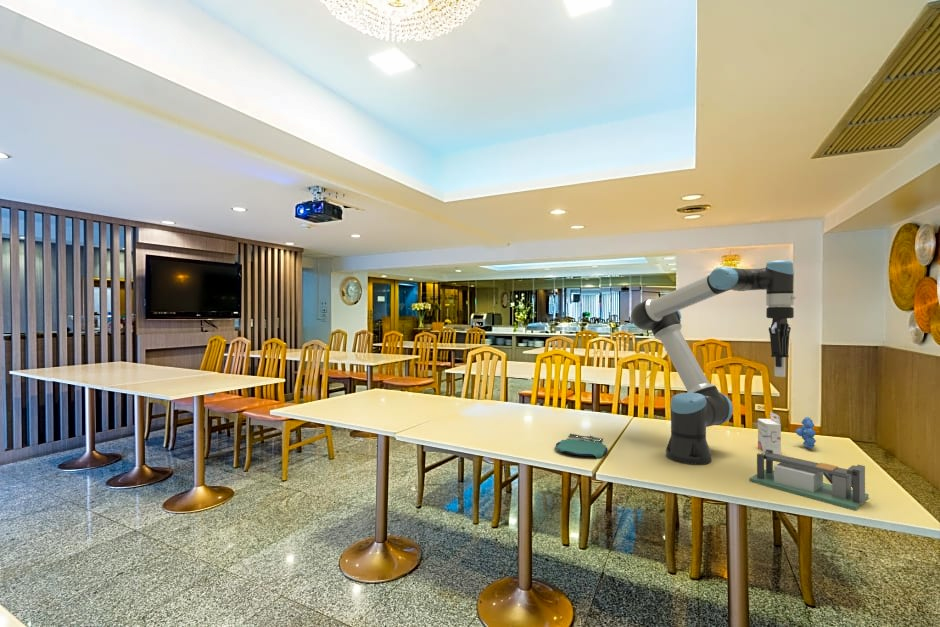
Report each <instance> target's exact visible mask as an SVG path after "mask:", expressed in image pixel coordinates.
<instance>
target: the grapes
mask: <svg viewBox="0 0 940 627" xmlns="http://www.w3.org/2000/svg"><path fill="white" fill-rule="evenodd" d="M801 424H802V426H801V427H798V428H796V430H795V434H796V435H797V436H799V437H801V438H802V440H803V442H802V444H803V446H804V447H806V448H807V449H808V450H812V449H813V448H815V446H816V445H815V443H816V442H817V440H816V439H815V437H816V434H817V432H816V431H815V429H814V427H815V426H816V425H815V423H814V420H812V419H811V417H809V416H808V417H807V416H806V417H804V418H803V419H802V421H801Z"/></svg>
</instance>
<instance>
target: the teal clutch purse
mask: <svg viewBox="0 0 940 627" xmlns="http://www.w3.org/2000/svg"><path fill="white" fill-rule="evenodd" d="M567 436H568V438H566V439H561V440H560V441H558V442H557V443H556V444H555V448H556V450H557V452H561V453H566V454H569V455H574V456H583V457H594V456H595V458H596V459H597V458H598V459H600V458H601V457H603V455H604V454H606V453H608V452H609V450H608V449H609V448H608V447H607V446H606V445H605V444H603V441H604V440H603V439H604V438H601V437H597V436H593V435H589V436H588V435H579V434H576V433H575V434H574V433H569V435H567ZM576 436H578V437H576ZM583 437H587V438H583ZM591 438H592V439H591ZM600 439H601V440H600ZM590 440H591V441H590ZM599 440H600V441H599ZM594 441H595V442H594Z"/></svg>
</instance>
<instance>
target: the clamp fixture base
mask: <svg viewBox="0 0 940 627" xmlns="http://www.w3.org/2000/svg"><path fill="white" fill-rule="evenodd" d="M766 451H769V452H770V453H773V450H769V449H766ZM846 469H847V468H846ZM847 474H850V475H849V476H847V477H842V476H837V475H832V484H831V483H830V484H829V483H825V482H824V474H823V472H820V471H816V470H811V469H807V468H802V467H798V466H794V465H789V464H785V463H780V462H778V463H777V464H775V465H774V461H772V460H767V459H764V455H763V454H761V453H756V474H755V475H753V476H751V477H749V478H748V480H749V482H750V483H755V484H758V485H760V486H765V487H768V488H772V489H776V490H779V491H783V492H787V493H789V494H794V495H796V496H797V495H798V496H801V497H804V496H805V498H808V499H812V498H813V500H815V499H816V501H819V500H820V501H819V502H823V501H824V502H823V503H826V502H828V504H830V503H831V505H833V506H834V505H835V506H837V507H840V508H841V507H842V508H845V509H848V508H849V510H852V509H853V511H855V510H856V511H857V510H858V509H859V508H860V507H861V506H862V505H863V504H864V503H863V502H864V501H865V500H866V499H867V498H868V497H869V496H870V495H869V493H866V466H865V465H863V464H857V465H851V466H850V467H848V469H847ZM851 475H853V488H851ZM868 499H869V498H868ZM868 499H867V500H868ZM867 500H866V501H867ZM866 501H865V502H866ZM862 503H863V504H862ZM861 504H862V505H861ZM860 505H861V506H860ZM859 506H860V507H859ZM858 507H859V508H858Z"/></svg>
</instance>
